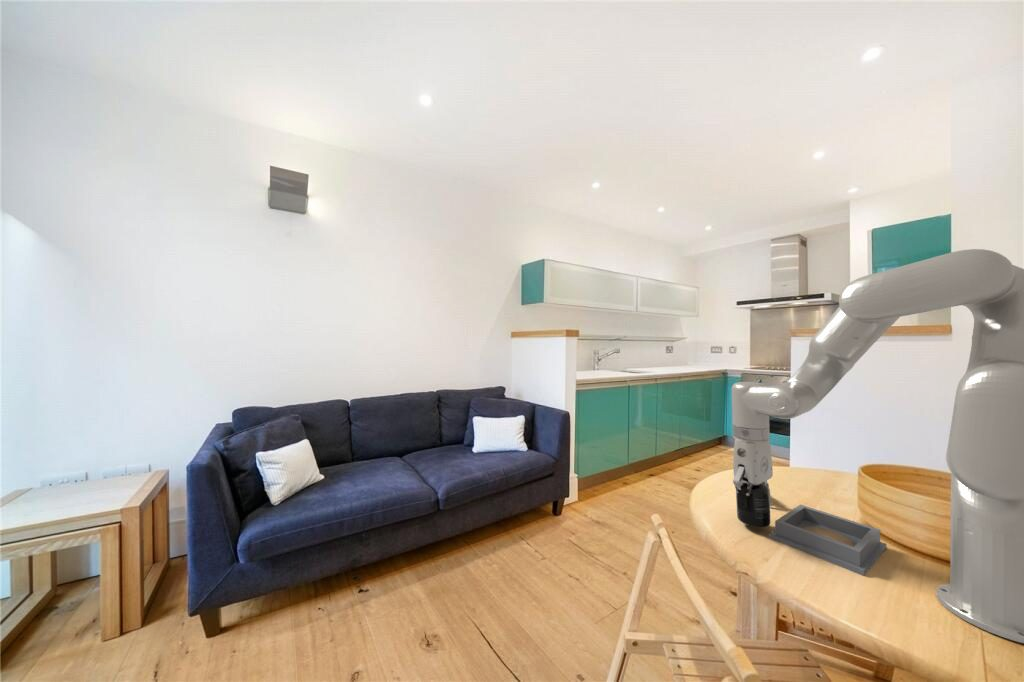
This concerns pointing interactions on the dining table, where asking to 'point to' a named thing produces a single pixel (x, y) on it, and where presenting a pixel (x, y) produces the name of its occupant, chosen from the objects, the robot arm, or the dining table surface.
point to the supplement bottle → (757, 507)
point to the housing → (830, 538)
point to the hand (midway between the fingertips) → (752, 505)
